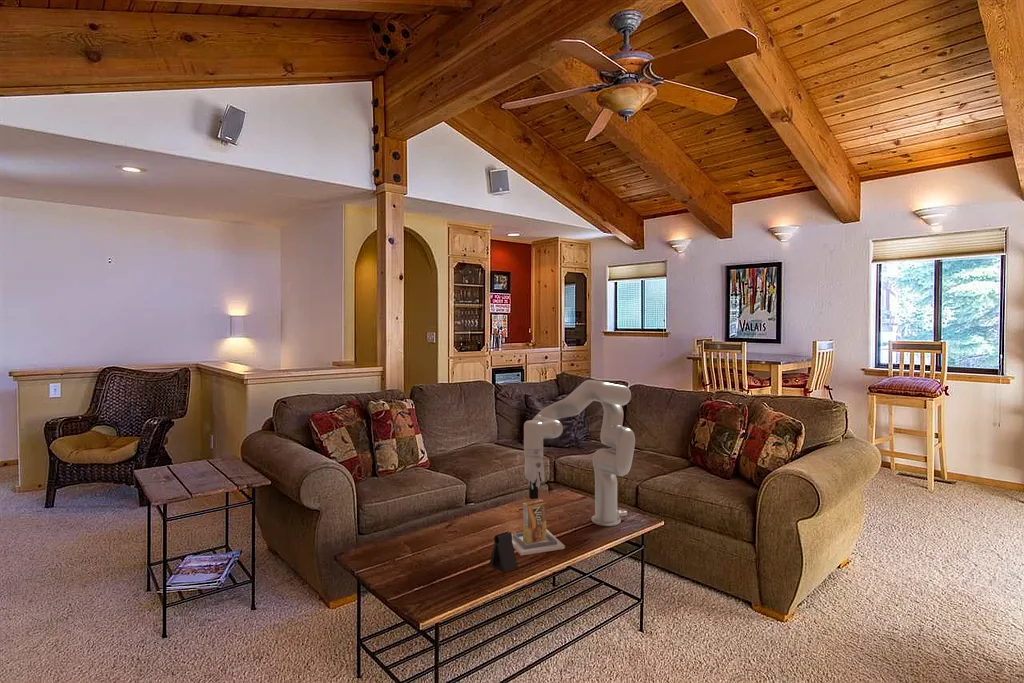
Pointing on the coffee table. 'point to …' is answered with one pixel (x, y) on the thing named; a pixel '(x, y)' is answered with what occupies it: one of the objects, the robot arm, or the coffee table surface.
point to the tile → (536, 544)
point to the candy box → (534, 521)
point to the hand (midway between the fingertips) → (533, 498)
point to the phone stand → (503, 553)
